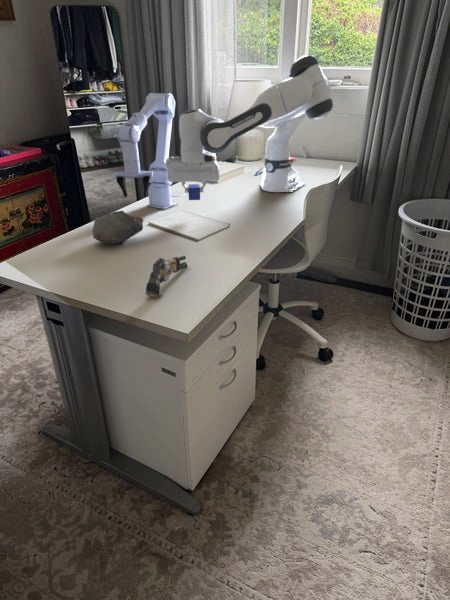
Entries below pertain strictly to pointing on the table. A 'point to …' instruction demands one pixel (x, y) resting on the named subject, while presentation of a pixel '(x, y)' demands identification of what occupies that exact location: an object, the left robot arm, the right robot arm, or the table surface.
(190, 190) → the block
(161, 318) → the table surface
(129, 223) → the stone
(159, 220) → the table surface
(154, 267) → the toy gun
